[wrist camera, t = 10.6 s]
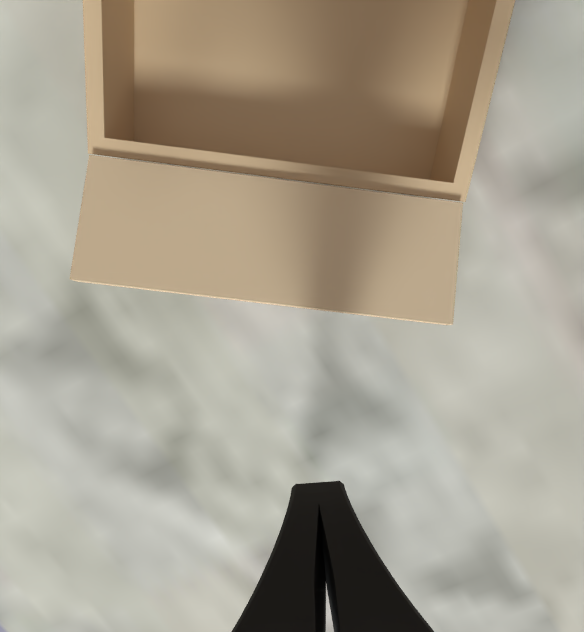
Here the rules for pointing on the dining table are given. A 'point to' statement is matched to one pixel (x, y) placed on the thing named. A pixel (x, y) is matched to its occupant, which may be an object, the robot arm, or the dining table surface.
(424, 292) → the flap
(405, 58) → the carton
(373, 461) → the dining table surface
